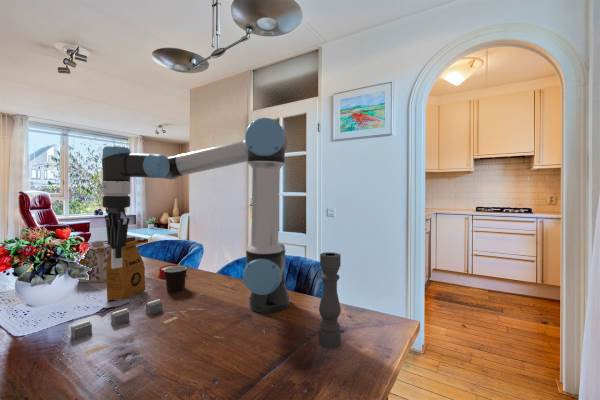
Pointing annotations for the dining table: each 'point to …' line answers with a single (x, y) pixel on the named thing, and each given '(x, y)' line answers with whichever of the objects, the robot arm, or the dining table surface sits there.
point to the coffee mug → (175, 278)
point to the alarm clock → (161, 270)
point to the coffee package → (126, 274)
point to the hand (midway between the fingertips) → (116, 267)
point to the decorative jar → (96, 261)
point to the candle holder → (330, 301)
